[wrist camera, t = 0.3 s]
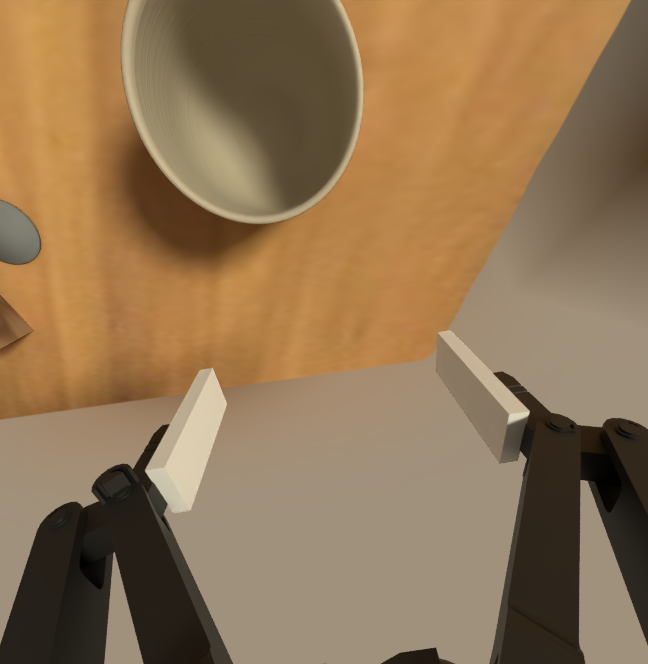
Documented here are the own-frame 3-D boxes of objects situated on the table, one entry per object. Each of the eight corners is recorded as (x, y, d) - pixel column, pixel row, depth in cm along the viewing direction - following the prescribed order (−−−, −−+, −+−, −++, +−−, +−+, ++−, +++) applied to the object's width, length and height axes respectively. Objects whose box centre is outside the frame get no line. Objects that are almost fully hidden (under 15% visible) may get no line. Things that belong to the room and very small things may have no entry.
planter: (307, 1, 30) (310, -148, 16) (359, 177, 37) (391, 175, 24) (163, 77, 32) (59, 1, 18) (240, 230, 39) (207, 255, 26)
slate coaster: (-48, 205, 36) (-51, 205, 36) (14, 192, 36) (12, 192, 35) (-3, 268, 40) (-6, 269, 39) (53, 257, 39) (51, 258, 39)
